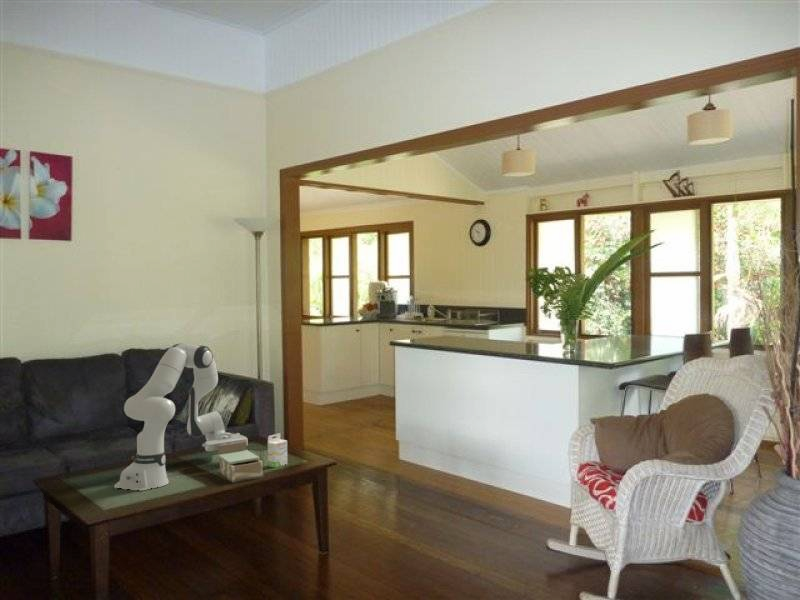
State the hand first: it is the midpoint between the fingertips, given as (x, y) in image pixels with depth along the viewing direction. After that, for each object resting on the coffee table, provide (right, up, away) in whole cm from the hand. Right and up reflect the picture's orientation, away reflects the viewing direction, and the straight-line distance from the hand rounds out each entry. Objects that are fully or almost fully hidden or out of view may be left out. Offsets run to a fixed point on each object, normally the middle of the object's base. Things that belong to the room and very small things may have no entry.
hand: (231, 447), depth 310 cm
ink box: (+21, -10, +5) cm, 24 cm away
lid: (+5, -3, -7) cm, 10 cm away
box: (+7, -11, -11) cm, 17 cm away
